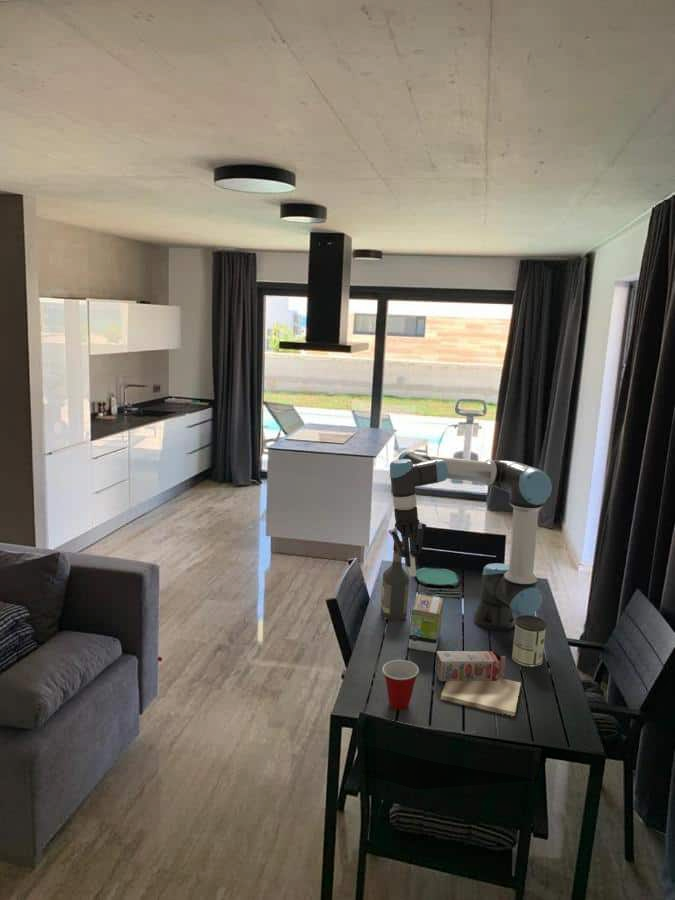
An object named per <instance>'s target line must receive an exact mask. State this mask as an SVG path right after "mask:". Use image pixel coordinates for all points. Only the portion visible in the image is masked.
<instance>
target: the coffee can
mask: <svg viewBox="0 0 675 900" xmlns="http://www.w3.org/2000/svg"><path fill="white" fill-rule="evenodd" d="M547 626H548V623H547V622H546V621H545V620H544V619H543V618H540V617H538V616H534V615H529V616H528V615H523V616H519V615H517V617H515V618H514V634H513V643H512V644H513V645H512V654H511V659H512V660H513V661H514V662H515V663H517V664H518V665H520V666H524V667H528V666H529V668H534V667H535V666H537V667H539V666H541V665H542V664H543V656H544V647H545V640H546V629H547ZM538 665H539V666H538ZM535 668H536V667H535Z"/></svg>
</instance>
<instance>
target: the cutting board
mask: <svg viewBox="0 0 675 900" xmlns="http://www.w3.org/2000/svg"><path fill="white" fill-rule="evenodd" d="M521 685H522V682H520V681H515V680H510V679H506V678H503V677H499V678H498V680H497V681H445V684H444V687H443V689H442V691H441V694H440V700H444V701H447V702H451V703H455V704H459V705H463V706H467V707H471V708H475V709H476V708H477V709H480V710H484V711H488V712H492V713H497V714H500V713H501V715H504V714H507V715H506V716H508V715H511V716H510V717H513V716H516V712H517V706H518V702H519V697H518V696H520V691H521Z"/></svg>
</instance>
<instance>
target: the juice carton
mask: <svg viewBox="0 0 675 900" xmlns="http://www.w3.org/2000/svg"><path fill="white" fill-rule="evenodd" d="M435 653H436V656H435V665H434V666H435V667H434V671H435V673H436V676H437V678H438V680H439V681H440V682H446V681H497V680H498V678H500V676H501V677H502V676H505V670H506V669H505V667H506V660H507V656H506V655H504V656H503V655H502V656H501V655H500V654H498V653H496V652H494V651H486V650H485V651H477V650H476V651H472V650H471V651H466V650H465V651H464V650H463V651H461V650H460V651H456V650H453V651H452V650H451V651H449V650H448V651H447V650H446V651H445V650H444V651H439V650H436V652H435Z"/></svg>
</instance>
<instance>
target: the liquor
mask: <svg viewBox="0 0 675 900" xmlns="http://www.w3.org/2000/svg"><path fill="white" fill-rule="evenodd" d="M400 542H401V545H402V547H403V544H402V540H400ZM392 549H393V552H392V553H393V554H392V562H391V565H390V566H389V567H388V568H387V569H386V570H384V572H383V574H382V581H381V582H382V584H381V587H382V588H381V598H380V599H381V601H380V613H381V614H382V615H381V616H382V617H383V619H384V618H386V619H385V620H387V619H388V620H387V621H390V620H391V621H403V620H405V619H406V618H407V616H408V615H407V614H408V602H409V601H408V600H409V590H410V589H409V587H410V577H409V574H407V573H408V572H406V571H405V569H404V568H403V565H402V561H403V557H401V556H400V555H399V554H398V551H397V548H396V545H395V543H394V542H393V548H392Z"/></svg>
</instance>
